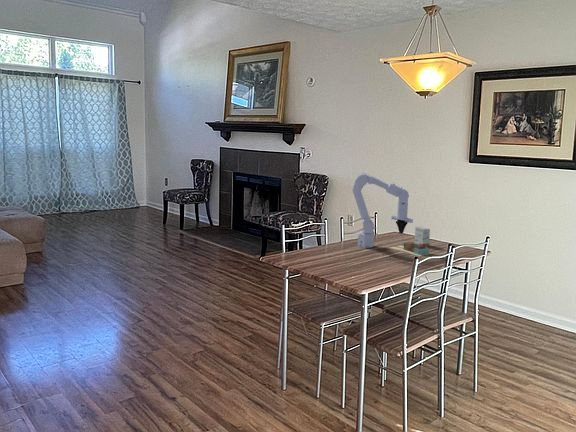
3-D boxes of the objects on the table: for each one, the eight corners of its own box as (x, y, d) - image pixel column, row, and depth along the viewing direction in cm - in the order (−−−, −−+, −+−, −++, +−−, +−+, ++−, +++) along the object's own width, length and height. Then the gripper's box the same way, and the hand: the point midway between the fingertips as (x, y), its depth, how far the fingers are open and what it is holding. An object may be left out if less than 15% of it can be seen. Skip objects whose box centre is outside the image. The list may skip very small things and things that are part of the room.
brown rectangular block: (403, 249, 293) (403, 242, 292) (408, 248, 295) (408, 242, 294) (420, 254, 283) (420, 247, 282) (424, 253, 285) (425, 246, 285)
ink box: (429, 248, 303) (430, 228, 301) (422, 248, 301) (423, 229, 299) (420, 244, 311) (421, 226, 309) (413, 245, 309) (415, 226, 307)
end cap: (420, 255, 281) (420, 249, 280) (413, 253, 284) (414, 248, 284) (429, 253, 285) (429, 248, 285) (423, 251, 289) (423, 246, 288)
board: (418, 257, 278) (418, 256, 278) (387, 249, 297) (387, 247, 297) (433, 254, 286) (433, 253, 286) (402, 246, 304) (402, 245, 304)
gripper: (416, 211, 290) (415, 234, 292) (397, 208, 301) (396, 230, 304) (408, 212, 286) (407, 235, 288) (389, 208, 297) (388, 231, 300)
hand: (401, 233), depth 296 cm, fingers closed
